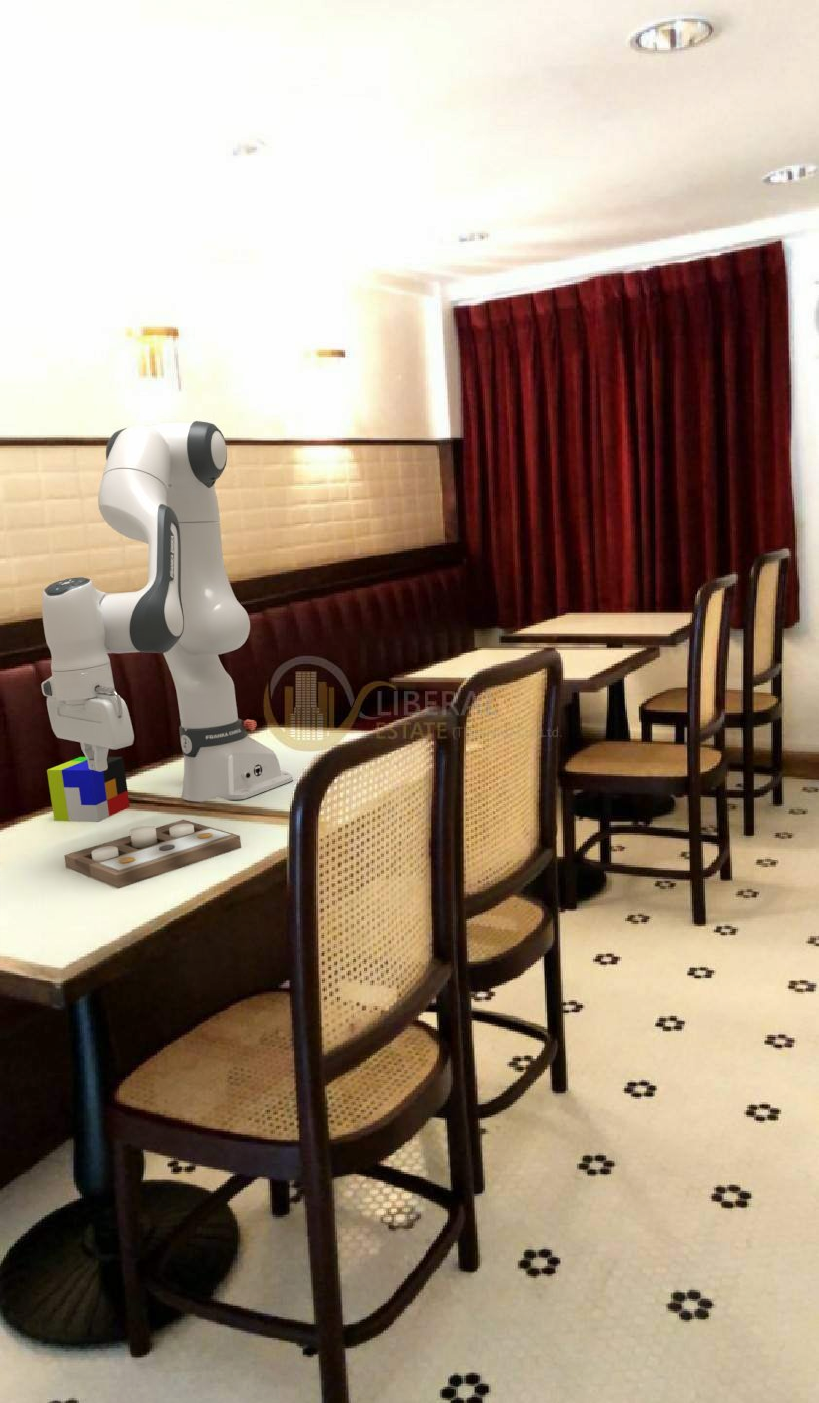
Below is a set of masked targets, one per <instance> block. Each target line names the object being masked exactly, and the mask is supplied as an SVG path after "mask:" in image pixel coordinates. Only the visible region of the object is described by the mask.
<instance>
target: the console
mask: <svg viewBox="0 0 819 1403" xmlns="http://www.w3.org/2000/svg"><path fill="white" fill-rule="evenodd" d="M179 824H193V825H194V833H191V834H187V835H184V836H181V837H178V838H176V837H173V836H170V831H169V828H170V827H172V826H175V825H179ZM155 828H156V835H157V844H155V845H152V846H149V847H145V848H134V847H132V841H131V834H130V835H127V836H123V837H121V838H120V837H119V838H116V839H113V840H110V841H107V842H104V843H100V844H96V845H94V846H90V847H87V848H84V849H80V850H78V851H73V852H69V853H68V854H64V858H63V859H64V863H65V868H66V869H69V870H70V871H74V872H77V873H79V874H81V875H84V876H87V877H89V878H91V879H93V880H96V881H99V882H101V883H104V884H107V885H108V886H111V887H113V888H116V889H121V888H124V887H127V886H130V885H134V884H136V883H139V882H143V881H145V880H148V879H151V878H154V877H157V876H160V875H163V874H166V873H170V872H173V871H175V870H178V869H182V868H185V867H188V866H190V865H193V864H196V863H199V862H203V861H207V860H209V859H211V858H215V857H217V856H221V855H223V854H224V855H225V854H226V853H230V852H232V851H235V850H238V849H241V848H242V842H241V841H242V840H241V835H240V834H235V833H232V832H228V831H225V830H221V829H218V828H214V827H212V826H208V825H203V824H201V823H197V822H194V821H189V820H187V819H181V820H177V821H174V822H171V823H168V824H164V825H160V826H157V827H155ZM108 846H114V847H117V848H118V855H119V856H116V857H113V858H110V859H107V860H103V861H100V862H97V861H94V860H92V853H91V852H92V851H93V850H95V849H98V848H101V847H108Z"/></svg>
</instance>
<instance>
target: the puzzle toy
mask: <svg viewBox="0 0 819 1403" xmlns="http://www.w3.org/2000/svg"><path fill="white" fill-rule="evenodd" d="M107 765H108V768H107V770H104V771H101V772H99V771H95V770H91V769H89V766H88V761H87V759H86V757H85V756H79V757H77V758H74V759H71V760H69V761H65V762H64V763H61V764H59V765H56V766H54V767H51V768H48V769H47V770H46V773H47V780H48V787H49V793H50V801H51V806H52V807H51V808H52V812H53V813H52V815H53V820H54V822H74V823H75V822H77V823H78V822H79V823H81V822H84V823H100V822H102V821H105V819H106V820H107V819H108V818H110V817H112V816H114V815H116V814H118V813H120V812H122V811H124V810H126V809H128V808H130V806H131V804H130V799H129V791H128V784H127V776H126V769H125V761H124V757H123V756H107Z"/></svg>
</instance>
